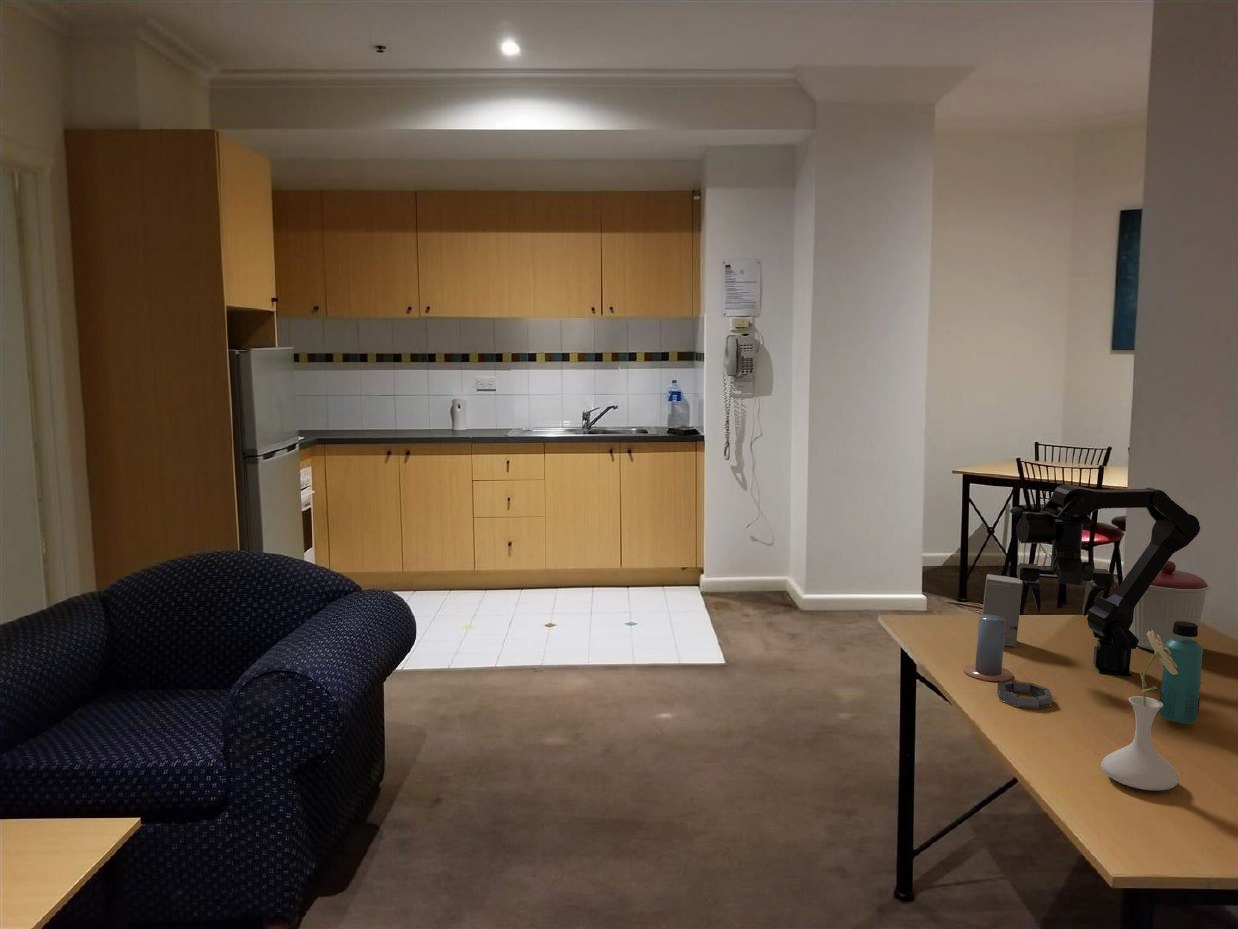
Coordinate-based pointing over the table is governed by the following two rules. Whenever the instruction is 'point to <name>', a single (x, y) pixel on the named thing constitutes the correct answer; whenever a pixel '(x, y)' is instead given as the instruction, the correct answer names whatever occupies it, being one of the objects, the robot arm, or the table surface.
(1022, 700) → the dark grey octagonal ring
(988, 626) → the blue-grey cylinder
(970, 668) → the terracotta coaster
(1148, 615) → the canister
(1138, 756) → the flower in vase
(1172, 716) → the beverage bottle
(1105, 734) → the table surface
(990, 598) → the skincare box
